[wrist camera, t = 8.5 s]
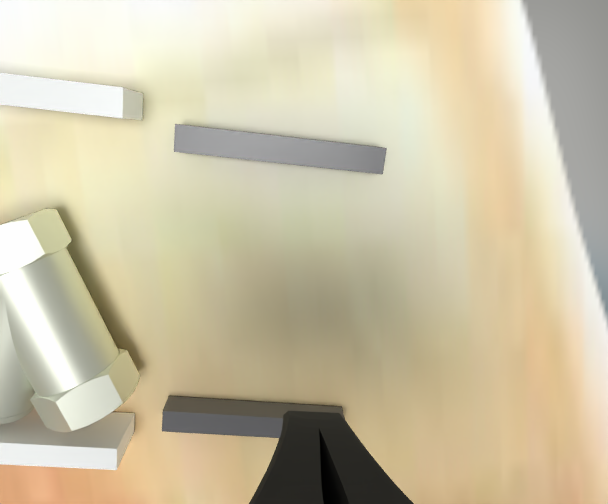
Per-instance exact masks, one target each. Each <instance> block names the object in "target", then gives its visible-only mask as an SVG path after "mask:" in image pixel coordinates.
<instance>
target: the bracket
mask: <svg viewBox="0 0 608 504" xmlns="http://www.w3.org/2000/svg"><path fill="white" fill-rule="evenodd" d="M0 104H1V105H10V106H19V107H27V108H36V109H45V110H54V111H63V112H71V113H80V114H89V115H98V116H107V117H115V118H125V119H135V120H143V93H140V92H136V91H133V90H130V89H127V88H123V87H115V86H107V85H99V84H90V83H82V82H73V81H65V80H57V79H48V78H40V77H32V76H23V75H15V74H6V73H0ZM134 421H135V413H123V412H111V413H110V414H108V415H107V416H105V417H104V418H102V419H100V420H98V421H96V422H94V423H92V424H90V425H88V426H86V427H83V428H81V429H78V430H74V431H70V432H58V431H54V430H52V429H49V428H47V427H46V426H45V425H44V423H43V421H42V420H41V418H40V416H39V414H38V413H37V411H36V409H35V408H34V409H33V410H32V411H31V412H30V413H29V414H28V415H26V416H25V417H23V418H21V419H19V420H17V421H14V422H10V423H6V424H0V464H6V465H27V466H47V467H67V468H88V469H108V470H117V468H118V466H119V464H120V462H121V459H122V457H123V455H124V453H125V451H126V449H127V447H128V444H129V442H130V440H131V438H132V436H133V434H134Z"/></svg>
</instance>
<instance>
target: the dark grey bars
mask: <svg viewBox="0 0 608 504" xmlns="http://www.w3.org/2000/svg"><path fill="white" fill-rule="evenodd" d="M386 149H387V148H382V147H373V146H365V145H356V144H347V143H338V142H329V141H321V140H312V139H303V138H294V137H285V136H277V135H268V134H259V133H250V132H241V131H233V130H224V129H215V128H206V127H197V126H189V125H180V124H175V140H174V152H182V153H191V154H201V155H210V156H219V157H228V158H237V159H247V160H256V161H265V162H274V163H283V164H293V165H302V166H311V167H320V168H330V169H339V170H348V171H357V172H366V173H376V174H383V169H384V162H385V155H386ZM287 411H308V412H330V413H340V414H341V416H342V417H343V418H344V414H343V410H342V407H337V406H321V405H305V404H290V403H274V402H258V401H242V400H226V399H211V398H195V397H179V396H169V397H168V399H167V402H166V404H165V407H164V409H163V420H162V431H166V432H183V433H201V434H219V435H236V436H254V437H271V438H280V435H281V431H282V424H283V415H284V414H285V413H286V412H287ZM344 419H345V418H344Z"/></svg>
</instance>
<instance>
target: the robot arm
mask: <svg viewBox="0 0 608 504" xmlns="http://www.w3.org/2000/svg"><path fill="white" fill-rule="evenodd" d="M249 504H414V503H413V502H412V501H411V500H410V499H409V498H408V497H407V496H406V495H405V494H404V493H403V492H402V491H401V490H400V489H399V488H398V487H397V485H396V484H395V483H394V482H393V481H392V480H391V479H390V478H389V476H388V475H387V474H386V473H385V472H384V470H383V469H382V468H381V467H380V466H379V464H378V463H377V462H376V461H375V459H374V458H373V457H372V456H371V455H370V453H369V452H368V451H367V449H366V448H365V447H364V445H363V444H362V443H361V441H360V440H359V439H358V437H357V436H356V435H355V433H354V432H353V431H352V429H351V428H350V426H349V425H348V424H347V422H346V421H345V419H344V418H343V417H342V416H341V414H340V413H330V412H308V411H287V412H286V413H285V414H284V415H283V424H282V431H281V435H280V438H279V441H278V444H277V447H276V450H275V452H274V454H273V457H272V459H271V462H270V464H269V467H268V469H267V471H266V473H265V475H264V477H263V479H262V481H261V483H260V484H259V486H258V488H257V490H256V492H255V494H254V496H253V498H252V499H251V501H250V503H249Z"/></svg>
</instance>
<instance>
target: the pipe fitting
mask: <svg viewBox="0 0 608 504" xmlns="http://www.w3.org/2000/svg"><path fill="white" fill-rule="evenodd" d="M71 241H72V239H71V237H70V235H69V233H68V231H67V229H66V227H65V225H64V223H63V221H62V219H61V217H60V215H59V213H58V211H57V209H49V208H47V209H44V210H41V211H38V212H35V213H32V214H29V215H26V216H23V217H21V218H18V219H15V220H12V221H9V222H7V223H4V224H1V225H0V424H6V423H10V422H14V421H17V420H19V419H21V418H23V417H25V416H26V415H28V414H29V413H30V412H31V411H32V410H33V409H34V408H35V409H36V411H37V413H38V414H39V416H40V418H41V420H42V421H43V423H44V425H45V426H46V427H47V428H49V429H52V430H54V431H58V432H70V431H74V430H78V429H81V428H83V427H86V426H88V425H90V424H92V423H94V422H96V421H98V420H100V419H102V418H104V417H105V416H107V415H108V414H110V413H111V412H113V411H114V410H116V409H117V408H118V407H119V406H121V405H122V404H123V403H124V402H125V401H126V400H127V399H128V398H129V397H130V396H131V395H132V393H133V392H134V390H135V388H136V386H137V384H138V382H139V379H140V375H139V373H138V371H137V369H136V367H135V365H134V363H133V361H132V359H131V357H130V355H129V353H128V351H127V350H124V349H120V348H117V347H116V345H115V343H114V341H113V339H112V337H111V335H110V333H109V331H108V329H107V327H106V325H105V323H104V321H103V319H102V317H101V315H100V313H99V311H98V309H97V307H96V305H95V303H94V301H93V299H92V297H91V295H90V293H89V291H88V290H87V288H86V286H85V284H84V282H83V280H82V278H81V276H80V274H79V272H78V270H77V268H76V266H75V264H74V262H73V260H72V258H71V256H70V254H69V252H68V250H67V248H66V247H67V246H68V244H69V243H70V242H71Z"/></svg>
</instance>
